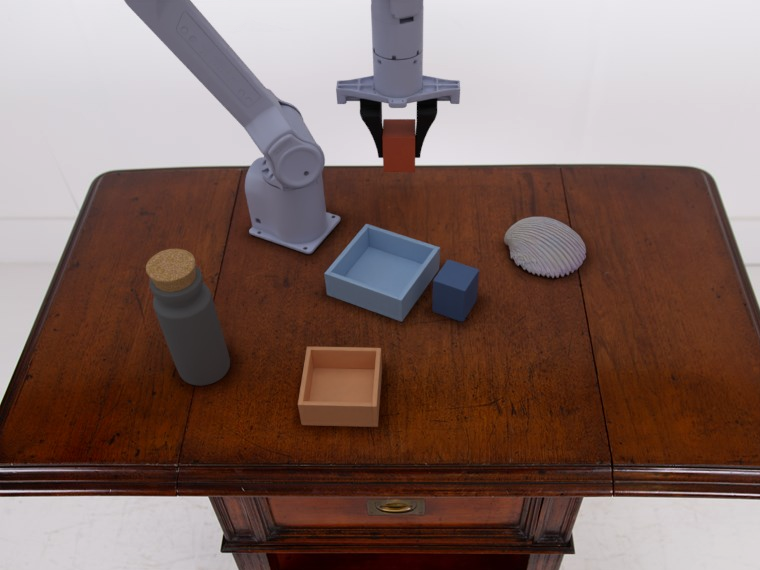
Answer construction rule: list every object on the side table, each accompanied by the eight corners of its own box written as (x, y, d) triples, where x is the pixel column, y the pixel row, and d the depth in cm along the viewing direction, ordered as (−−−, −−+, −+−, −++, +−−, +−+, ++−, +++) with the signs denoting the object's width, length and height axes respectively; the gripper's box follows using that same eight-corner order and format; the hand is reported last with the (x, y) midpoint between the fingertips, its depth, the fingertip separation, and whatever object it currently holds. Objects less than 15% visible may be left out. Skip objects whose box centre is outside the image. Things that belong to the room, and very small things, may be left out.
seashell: (506, 200, 97) (586, 194, 94) (511, 235, 101) (588, 230, 98) (496, 250, 91) (582, 246, 88) (502, 285, 95) (584, 282, 92)
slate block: (432, 311, 89) (432, 280, 85) (446, 290, 91) (447, 259, 87) (462, 322, 88) (465, 291, 84) (476, 301, 90) (479, 269, 86)
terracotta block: (383, 172, 96) (382, 137, 92) (384, 154, 98) (383, 118, 95) (415, 172, 96) (415, 137, 92) (415, 154, 98) (415, 118, 94)
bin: (326, 295, 91) (324, 273, 88) (367, 245, 97) (366, 223, 94) (401, 322, 88) (401, 300, 85) (439, 269, 94) (440, 247, 91)
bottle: (207, 394, 82) (172, 293, 70) (166, 372, 84) (126, 270, 72) (241, 359, 85) (213, 256, 73) (202, 339, 87) (168, 236, 75)
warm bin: (301, 425, 79) (297, 404, 76) (310, 367, 84) (306, 346, 81) (378, 427, 79) (376, 406, 76) (382, 369, 84) (381, 347, 81)
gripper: (330, 65, 83) (339, 172, 94) (463, 65, 83) (457, 172, 93) (335, 34, 87) (343, 139, 98) (461, 34, 87) (455, 139, 98)
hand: (399, 153), depth 96 cm, fingers closed on terracotta block, 4 cm apart
